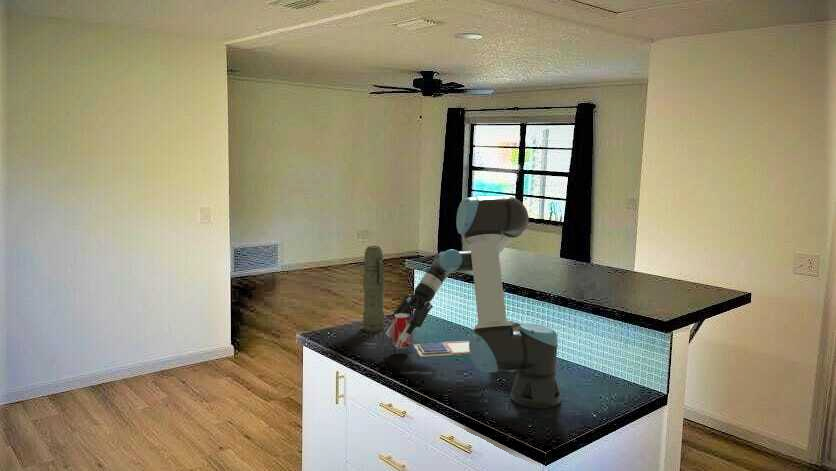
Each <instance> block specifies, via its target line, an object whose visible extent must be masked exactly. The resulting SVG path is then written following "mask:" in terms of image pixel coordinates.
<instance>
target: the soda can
mask: <svg viewBox="0 0 836 471" xmlns="http://www.w3.org/2000/svg"><path fill="white" fill-rule="evenodd" d="M392 318H393V317H392ZM411 320H412V317H411V315H410V313H408V314H407V313H397V314H395V315H394V318H393V319H392V322H393V335H392V346H393V347H394V348H396V349H401V350H402V349H404V350H405V349H408V348H409V347H410V346H412V340H413V339H412V333H413V332H412V333H411V334H409V336H408V337H407V339H406V341H405V342H402V341H401V340H400V339H399V337H400V336H401V334H402V332H403V331H404V329H405V328H406V326H407V325H408V323H409V324H410V322H411ZM410 325H411V324H410Z"/></svg>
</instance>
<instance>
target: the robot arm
mask: <svg viewBox="0 0 836 471" xmlns="http://www.w3.org/2000/svg"><path fill="white" fill-rule="evenodd" d="M455 219H456V223H455V224H456V231H457V233H458V235H459V234H460V235H462V236H463V237H464V238H463V239H464V242H465V243H466V244H467V245H469V248H470V250H464V251H461V250H460V251H459V250H456V249H452V248H451V249H447V250H445V251H440V252H439V253H438V254H437V255H436V256H435V257H434V260H433V261H432V263H431V264H430V266H429V268H428V269H427V270H426V272H425V274H424V275H423V277H422V278H421V279H420V280H419V283H418V284H417V286H416V287H415V288H414V293H413V295H412V296H408V295H405V297H404V298H403V300H402V302H401V303H400V304H399V305H398V307H397V308H396V309H395V311H394V312H393V313H392V315H391V317H392V318H394V315H395V314H397V313H407V314H410V312H412V311H414V312H413V313H412V314H413V315H412V317H411V322H410V324H411V325H410V324H409V323H408V325H407V326H406V328H405V329H404V331H403V332H402V334H401V336H400V337H399V339H400V340H401V341H402V342H405V341H406V339H407V337H408V336H409V334H411V333H413V331H414V329H417V328H421V326H422V325H423V323H424V322H425V319H426V317H427V315H428V313H429V312H430V311H431V310H432V308H434V307H433V306H434V305H432V303H431V301H432V300H433V299H434V297H435V295H436V293H437V292H438V291H439V290H440V288H441V286H442V285H443V283H444V282H445V280H446V279H447V277H448V276H449V274H452V273H458V272H472V274H473V284H474V285H473V287H474V294H475V304H476V314H477V324H476V325H475V326H474V327H473V332H474V333H472V334H471V335H470V336H469V338H468V341H469V350H470V354H469V355H470V358H471V360H472V362H473V365H474V366H475V368H476V369H478V371H480V372H481V373H497V372H508V371H509V370H517V373H516V376H515V378H514V382H513V383H512V387H511V391H510V399H511V400H512V401H513V402H514V403H515V404H517V405H520V406H523V407H527V408H530V409H551V408H553V407H556V406H558V405H560V403H561V394H562V393H561V390H560V386H559V384H558V380H557V376H556V375H557V374H556V371H557V354H558V346H559V345H558V335H557V332H556V331H555V329H553V328H551V327H549V326H546V325H542V324H538V323H530V322H527V323H526V322H525V323H520V324H521V325H520V326H519V328H518V329H519V330H518V331H513V328H512V324H511V323H509V322H508V321H509V320H508V319H507V312H506V305H505V296H504V294H505V293H504V287H503V286H504V285H503V280H502V279H503V278H502V270H501V262H500V261H501V260H500V254H501V253H502V252H503V251H504V250H505V249H506V247H508V245H509V244H510V243H511V242H512V240H513V239H516V238H518V237H520V236H521V235H522V234H523V233H524V231H526V229H527V227H528V224H529V219H530V218H529V212H528V210H527V208H526V206H525V205H524V204H523V202H521V201H520V200H519V199H517V198H515V197H512V196H509V195H507V196H505V195H504V196H503V195H502V196H478V195H477V196H472V197H471V196H470V197H465V198H463V199H462V200H461V202H460V203H459V206H458V208H457V213H456V218H455ZM385 334H386V336H388V338H393V321H392V322H391V324H390V325H389V327H388V329H387V330H386V331H385Z"/></svg>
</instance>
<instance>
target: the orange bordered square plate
mask: <svg viewBox="0 0 836 471" xmlns="http://www.w3.org/2000/svg"><path fill="white" fill-rule="evenodd" d="M442 343H444V344H445V346H446V347H447V348H448V350H449V351H450V352H451V354H457V355H464V354H463V353H470V350H469V340H458V341H456V340H455V341H443V342H442Z"/></svg>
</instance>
